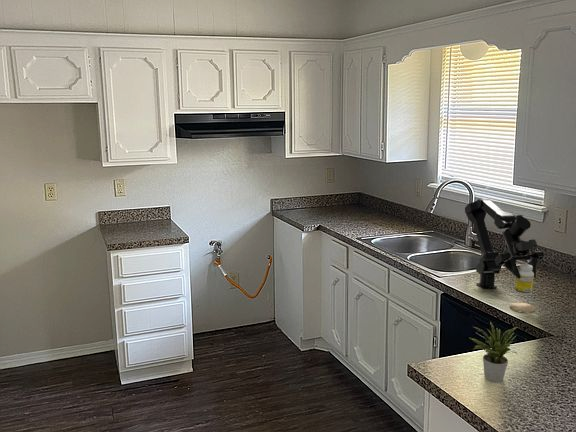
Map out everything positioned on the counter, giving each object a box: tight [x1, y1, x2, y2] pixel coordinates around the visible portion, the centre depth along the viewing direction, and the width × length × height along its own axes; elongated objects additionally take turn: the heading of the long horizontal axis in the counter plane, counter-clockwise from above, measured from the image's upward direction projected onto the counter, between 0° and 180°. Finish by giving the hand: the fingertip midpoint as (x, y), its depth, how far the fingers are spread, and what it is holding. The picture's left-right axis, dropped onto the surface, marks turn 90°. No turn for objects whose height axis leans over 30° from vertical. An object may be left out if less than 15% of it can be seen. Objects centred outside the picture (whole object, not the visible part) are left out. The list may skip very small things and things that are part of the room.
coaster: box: [509, 302, 536, 313], centre depth 229 cm, size 9×9×1 cm
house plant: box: [469, 321, 519, 383], centre depth 173 cm, size 14×14×16 cm
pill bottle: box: [514, 263, 535, 296], centre depth 227 cm, size 6×6×11 cm
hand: (527, 277), depth 226 cm, fingers closed on pill bottle, 6 cm apart
